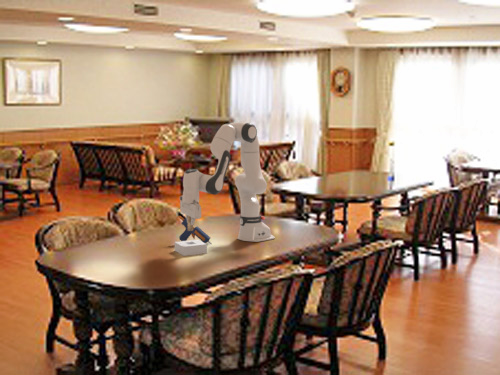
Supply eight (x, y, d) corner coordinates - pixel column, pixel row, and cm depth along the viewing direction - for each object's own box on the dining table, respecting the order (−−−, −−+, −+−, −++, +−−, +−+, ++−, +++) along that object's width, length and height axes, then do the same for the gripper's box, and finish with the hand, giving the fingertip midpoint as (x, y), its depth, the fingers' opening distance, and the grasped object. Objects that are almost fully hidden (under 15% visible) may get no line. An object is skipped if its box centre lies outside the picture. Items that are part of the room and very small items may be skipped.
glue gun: (201, 258, 386) (213, 242, 382) (167, 230, 387) (179, 215, 383) (203, 255, 390) (215, 240, 387) (170, 228, 392) (182, 213, 388)
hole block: (197, 248, 374) (197, 239, 373) (206, 253, 364) (206, 244, 363) (174, 250, 367) (174, 242, 367) (183, 255, 357) (183, 246, 356)
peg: (191, 229, 366) (192, 211, 364) (193, 230, 363) (194, 212, 362) (186, 230, 364) (187, 212, 363) (188, 231, 362) (189, 213, 360)
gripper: (204, 201, 354) (203, 227, 356) (188, 195, 371) (188, 220, 373) (193, 202, 351) (193, 228, 353) (178, 196, 368) (177, 220, 370)
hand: (190, 223), depth 363 cm, fingers closed on peg, 3 cm apart
